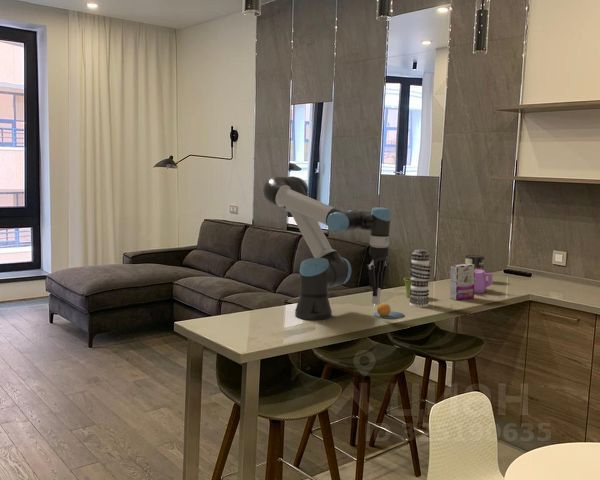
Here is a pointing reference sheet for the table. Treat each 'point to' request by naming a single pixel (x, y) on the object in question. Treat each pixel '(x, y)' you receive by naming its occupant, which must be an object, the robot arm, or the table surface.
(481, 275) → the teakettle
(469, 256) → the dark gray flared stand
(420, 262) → the decorative candle
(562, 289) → the table surface
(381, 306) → the ball
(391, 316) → the disc
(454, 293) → the candy bar box
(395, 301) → the table surface
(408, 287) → the plant pot
